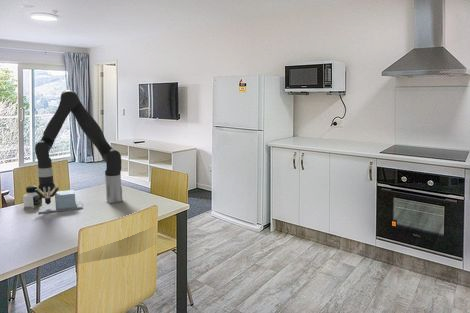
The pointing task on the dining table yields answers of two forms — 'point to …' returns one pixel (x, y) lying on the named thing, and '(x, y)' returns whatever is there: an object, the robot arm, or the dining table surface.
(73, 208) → the housing base
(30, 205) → the medicine bottle
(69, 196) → the cover
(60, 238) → the dining table surface
